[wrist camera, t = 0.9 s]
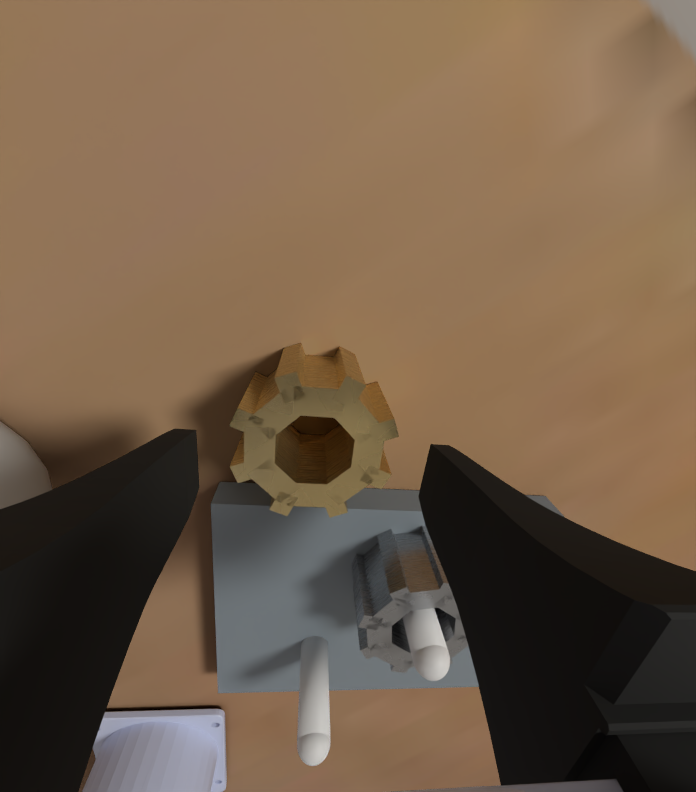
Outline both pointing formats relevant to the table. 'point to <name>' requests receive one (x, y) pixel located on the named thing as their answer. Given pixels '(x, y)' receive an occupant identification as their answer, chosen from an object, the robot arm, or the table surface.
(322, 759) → the gear board
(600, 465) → the table surface
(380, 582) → the fixed gear
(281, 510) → the brass gear
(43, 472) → the donut
